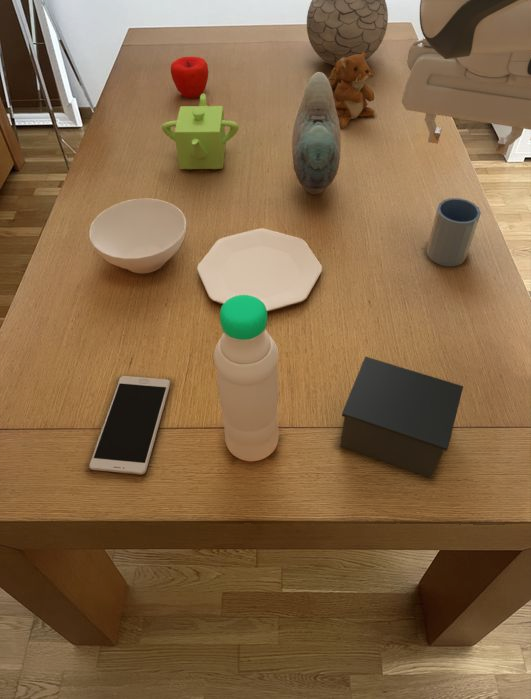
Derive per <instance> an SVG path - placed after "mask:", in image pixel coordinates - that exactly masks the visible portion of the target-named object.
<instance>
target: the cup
mask: <svg viewBox="0 0 531 699" xmlns="http://www.w3.org/2000/svg"><path fill="white" fill-rule="evenodd" d="M481 215H482V213H481V210H480V207H479V206H478V205H477V204H475V203H474V202H473V201H470V200H468V199H465V198H459V197H451V198H447V199H443V200H442V201H441V202H439V203H438V206H437V208H436V213H435V215H434V220H433V225H432V227H431V231H430V235H429V239H428V244H427V247H426V255H427V256H428V258H429V259H430V260H431V261H432V262H433V263H435V264H437V265H439V266H443V267H455V266H459V265H461V264H463V263H464V262H465V261H466V260H467V256H468V254H469V250H470V247H471V245H472V243H473V238H474V235H475V232H476V230H477V226H478V224H479V220H480V217H481Z"/></svg>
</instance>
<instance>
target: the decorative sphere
mask: <svg viewBox="0 0 531 699" xmlns="http://www.w3.org/2000/svg"><path fill="white" fill-rule="evenodd" d="M388 11H389V10H388V6H387V2H386V0H311V1H310V3H309V7H308V10H307V15H306V32H307V37H308V40H309V43H310V46H311V47H312V49H313V51H314V52H315V53H316V55H317V56H318V57H319V58H320V59H321V60H322V61H323V62H325V63H327V64H329V65H330V66H333V67H335V65H336V63H337V61H339V60H340V59H341V58H343V57H345V58H348V57H349V56H352V55H356V54H362V53H363V52H364V53H366V57H365V61H367V60H368V59H370V58H371V57H372V56H373V55H374V54H375V53H376V52H377V50H378V49H379V48H380V46H381V44H382V42H383V40H384V38H385V36H386V32H387V29H388V21H389V12H388Z"/></svg>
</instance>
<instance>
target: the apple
mask: <svg viewBox="0 0 531 699" xmlns="http://www.w3.org/2000/svg"><path fill="white" fill-rule="evenodd" d="M170 75H171V78H172V81H173V83H174V86H175V88H176V90H177V92H179V94H180V95H181V96H182V97H183V98H187V99H195V98H200V96H201V94H203V93H204V92H205V90H206V89H207V84H208V79H209V65H208V63H207V61H206V60H205V58H202V57H200V56H182V57H180V58H177V59H176V60H174V61H172V62H171V65H170Z"/></svg>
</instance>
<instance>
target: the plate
mask: <svg viewBox="0 0 531 699" xmlns="http://www.w3.org/2000/svg"><path fill="white" fill-rule="evenodd" d="M196 271H197V274H198V275H199V278H200V280H201V283H202V284H203V287H204V289H205V291H206V294H207V296H208V298H209V300H211V301H212V302H214V303H217V304H220V305H223V304H224V303H225V302H226V301H227V300H229V299H230V298H232V297H235V296H236V295H237V296H239V295H249V296H250V295H251V296H254V297H255V298H258V299H259V300H261V302H263V303H264V305H265V307H266V309H267V313H269V312H273V311H276V310H280V309H283V308H286V307H291V306H294V305H297V304H301V303H303V302H304V301H305V300H307V299H308V297H309V295H310V294H311V292H312V290H313V288H314V286H315V284H316V282H317V281H318V279H319V278H320V275H321V274H322V273H323V266H322V264H321V263H320V261H319V259H318V258H317V257H316V255H315V253H314V252H313V250H312V249H311V248H310V246H309V245H308V243H307V242H306V240H304V239H302V238H301V237H297V236H293V235H290V234H286V233H282V232H278V231H275V230H271V229H268V228H255V229H251V230H247V231H244V232H243V231H242V232H240V233H235V234H231V235H227V236H223V237H221V238H219V239H218V240H216V241H215V242H214V244H212V246H211V248H210V249H209V251H207V253H206V254H205V255H204V257H203V258H202V259H201V261H199V263H198V264H197V266H196Z"/></svg>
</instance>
